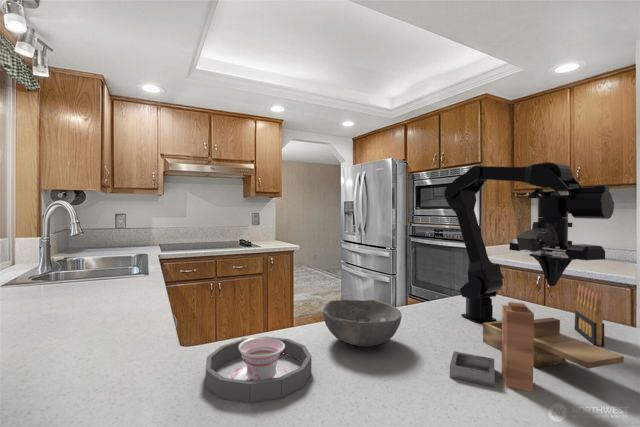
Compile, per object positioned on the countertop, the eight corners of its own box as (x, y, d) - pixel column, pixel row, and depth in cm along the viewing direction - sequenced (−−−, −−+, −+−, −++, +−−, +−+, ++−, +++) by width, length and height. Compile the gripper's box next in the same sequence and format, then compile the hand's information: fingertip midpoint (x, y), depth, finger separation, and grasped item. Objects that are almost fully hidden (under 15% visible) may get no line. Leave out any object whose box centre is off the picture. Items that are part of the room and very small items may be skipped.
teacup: (307, 374, 61) (307, 341, 61) (265, 408, 51) (266, 368, 50) (256, 359, 67) (256, 329, 67) (210, 387, 56) (210, 351, 56)
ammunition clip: (604, 346, 74) (605, 293, 74) (594, 345, 74) (595, 292, 74) (583, 330, 84) (583, 283, 84) (574, 329, 84) (574, 282, 84)
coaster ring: (208, 357, 67) (208, 342, 67) (297, 346, 73) (297, 333, 73) (203, 410, 50) (203, 390, 50) (322, 391, 55) (322, 373, 55)
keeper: (453, 361, 66) (453, 351, 66) (494, 369, 63) (494, 358, 63) (449, 377, 60) (449, 366, 60) (494, 387, 57) (494, 375, 57)
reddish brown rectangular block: (501, 375, 61) (502, 300, 60) (526, 379, 59) (527, 302, 59) (506, 386, 57) (507, 306, 57) (532, 390, 56) (533, 308, 55)
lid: (517, 338, 67) (517, 318, 67) (549, 333, 69) (549, 314, 69) (587, 368, 54) (588, 344, 54) (623, 362, 57) (624, 338, 56)
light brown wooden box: (482, 341, 76) (483, 323, 76) (510, 338, 78) (510, 320, 78) (533, 367, 64) (534, 345, 64) (564, 362, 66) (565, 340, 66)
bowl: (403, 363, 65) (403, 323, 65) (315, 355, 69) (315, 317, 69) (399, 331, 83) (399, 299, 83) (330, 325, 86) (330, 295, 86)
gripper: (492, 217, 82) (491, 279, 83) (567, 219, 65) (566, 298, 65) (527, 217, 86) (526, 277, 86) (607, 219, 68) (606, 295, 68)
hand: (551, 285), depth 76 cm, fingers closed
